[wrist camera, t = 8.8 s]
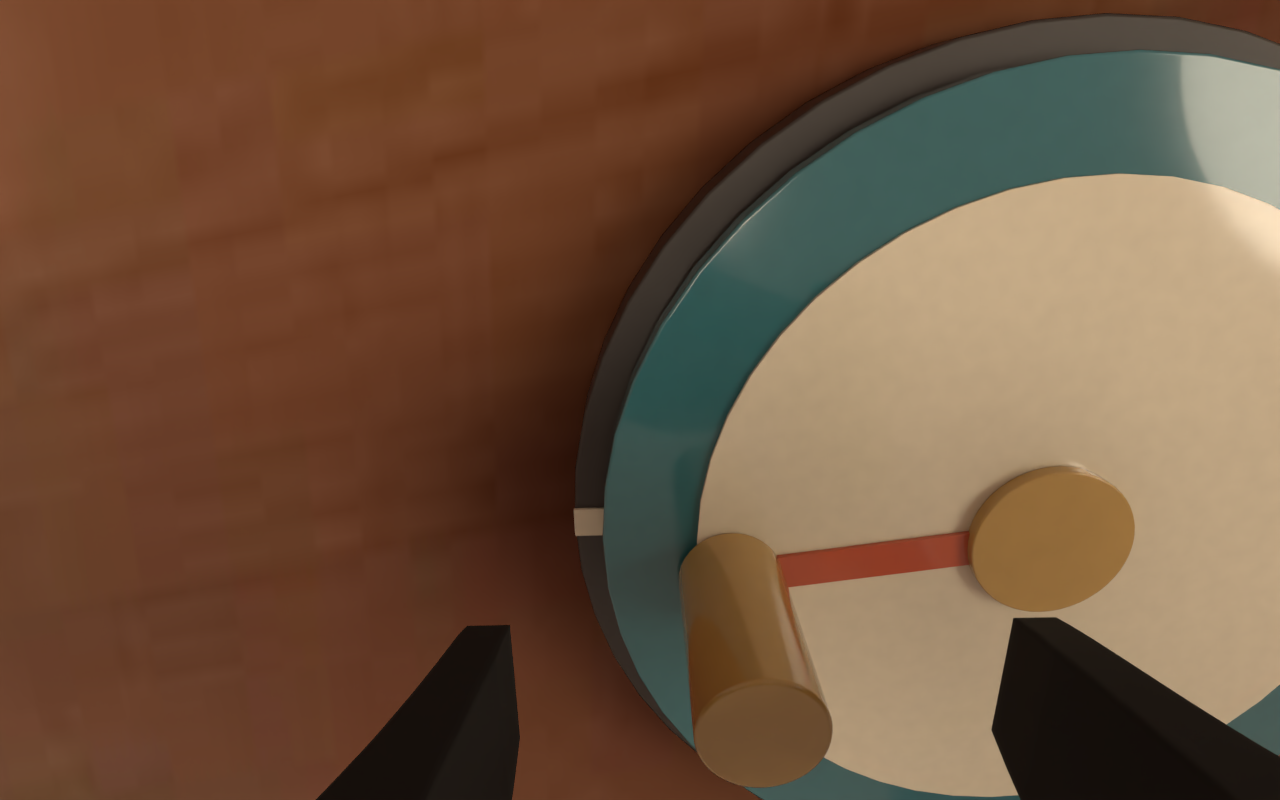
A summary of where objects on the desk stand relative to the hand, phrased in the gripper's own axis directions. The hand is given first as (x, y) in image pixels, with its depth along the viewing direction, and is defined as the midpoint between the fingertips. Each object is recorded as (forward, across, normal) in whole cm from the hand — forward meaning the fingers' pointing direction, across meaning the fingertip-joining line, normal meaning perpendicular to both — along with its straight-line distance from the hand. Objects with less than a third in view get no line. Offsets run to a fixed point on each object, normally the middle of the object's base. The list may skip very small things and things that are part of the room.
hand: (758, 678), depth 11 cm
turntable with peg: (+4, -6, 0) cm, 7 cm away
